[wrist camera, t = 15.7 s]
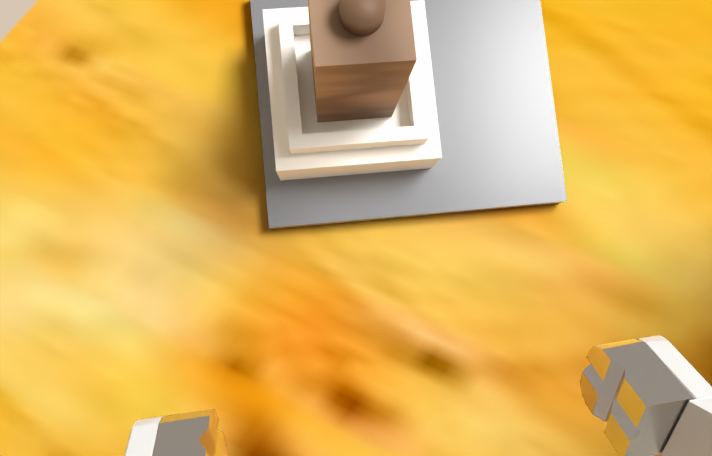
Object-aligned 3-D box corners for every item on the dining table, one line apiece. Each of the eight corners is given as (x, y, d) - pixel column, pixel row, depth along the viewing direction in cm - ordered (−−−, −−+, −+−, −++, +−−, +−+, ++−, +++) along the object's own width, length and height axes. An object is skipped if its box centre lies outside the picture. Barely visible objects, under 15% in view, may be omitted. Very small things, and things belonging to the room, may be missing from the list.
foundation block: (280, 180, 32) (273, 166, 28) (268, 33, 33) (259, -2, 28) (431, 168, 32) (447, 152, 28) (415, 24, 33) (428, -11, 29)
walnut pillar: (317, 122, 29) (314, 58, 20) (310, 50, 30) (305, -43, 21) (391, 117, 29) (420, 51, 21) (384, 45, 30) (409, -48, 21)
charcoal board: (270, 229, 32) (268, 227, 31) (251, -1, 34) (249, -9, 33) (559, 203, 34) (567, 201, 33) (530, -16, 35) (536, -24, 34)
